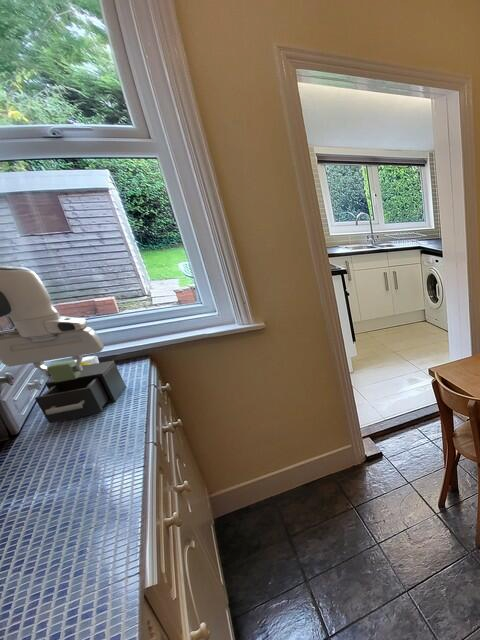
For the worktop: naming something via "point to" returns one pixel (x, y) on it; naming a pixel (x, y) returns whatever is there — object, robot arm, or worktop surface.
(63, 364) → the block
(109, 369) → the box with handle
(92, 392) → the drawer
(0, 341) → the robot arm
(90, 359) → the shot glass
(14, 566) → the worktop surface
